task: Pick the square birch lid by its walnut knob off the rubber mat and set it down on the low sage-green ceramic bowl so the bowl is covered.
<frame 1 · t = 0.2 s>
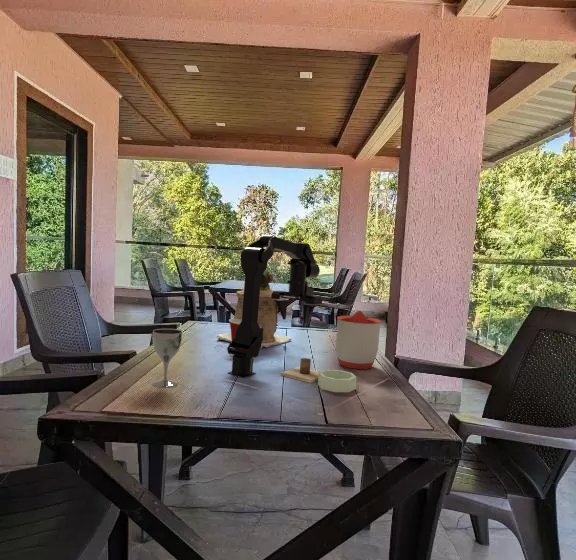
hand: (294, 321, 166), 14 cm above the table, tool pointing down, fingers open, 9 cm apart
plastic cup: (241, 352, 175), on the table
citrus juicer: (355, 365, 167), on the table
cookie jar: (254, 341, 198), on the table
wine glass: (164, 384, 130), on the table
bowl: (336, 387, 137), on the table
mat: (304, 376, 147), on the table
lid: (304, 375, 147), resting on mat
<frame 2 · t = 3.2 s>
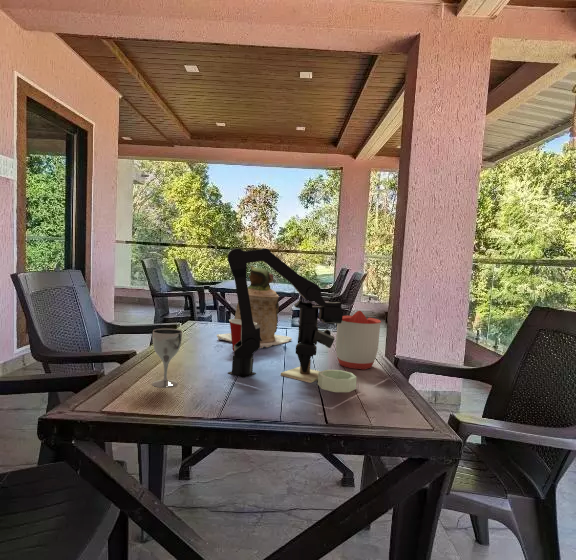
hand: (304, 370, 147), 2 cm above the table, tool pointing down, fingers closed on lid, 3 cm apart
lid: (304, 375, 147), resting on mat, touching gripper
everything else where it was.
when the fingers open (7 cm above the table, at t = 6.5 s): lid drops 1 cm, resting on bowl.
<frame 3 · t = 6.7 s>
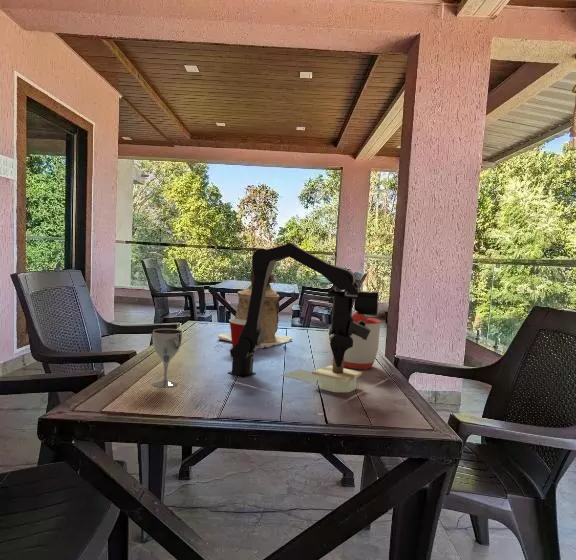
hand: (338, 364, 137), 7 cm above the table, tool pointing down, fingers open, 5 cm apart
lid: (337, 374, 137), point 4 cm above the table, touching bowl
everything else where it was.
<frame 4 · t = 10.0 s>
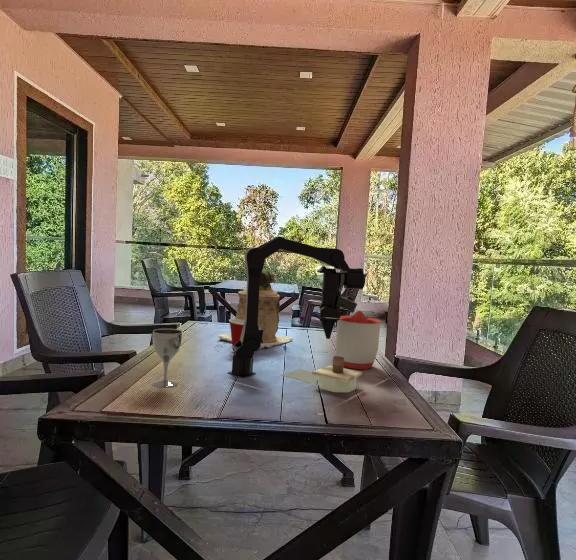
hand: (327, 336, 149), 13 cm above the table, tool pointing down, fingers open, 9 cm apart
nothing on the table moved.
at the end: lid 0.0 cm off-centre on the bowl, point 4.0 cm above the bowl's base; lid tilted 0°; the gripper is holding nothing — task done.
